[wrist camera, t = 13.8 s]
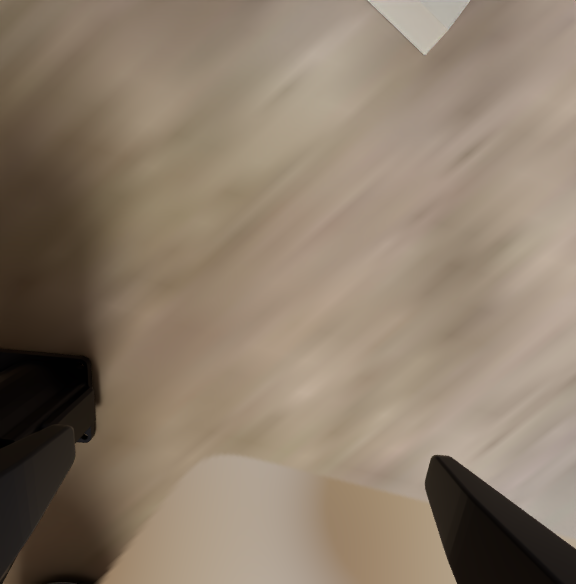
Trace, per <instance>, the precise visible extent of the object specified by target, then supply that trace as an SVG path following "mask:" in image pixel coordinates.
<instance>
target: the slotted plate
mask: <svg viewBox="0 0 576 584" xmlns="http://www.w3.org/2000/svg"><path fill="white" fill-rule="evenodd" d="M368 1H369V2H370V3H371V4H372V5H373V6H374V7H375V8H376V9H377V10H378V11H379V12H380V13H381V14H382V15H383V16H384V17H385V18H386V19H387V20H388V21H389V22H390V23H392V24H393V25H394V26H395V27H396V28H397V29H398V30H399V31H400V32H401V33H402V34H403V35H404V36H405V37H406V38H407V39H408V40H409V41H410V42H411V43H412V44H413V45H414V46H415V47H416V48H417V49H418V50H419V51H421V52H422V53H423V54H424V55H426V54H427V53H428V52H429V51H430V49H431V48H432V47H433V46H434V45H435V44H436V43H437V42H438V41H439V40H440V38H441V37H442V36H443V35H444V34H445V33H446V32H447V31H448V30H449V28H450V27H451V26H452V24H453V23H454V22H455V20H456V19H457V18H458V16H459V15H460V14H461V12H462V11H463V10H464V8H465V7H466V6H467V4H468V3H469V2H470V0H368Z"/></svg>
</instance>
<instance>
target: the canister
mask: <svg viewBox="0 0 576 584" xmlns="http://www.w3.org/2000/svg"><path fill="white" fill-rule="evenodd" d="M49 584H75V583H67V582H57V583H49Z"/></svg>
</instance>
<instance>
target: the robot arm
mask: <svg viewBox="0 0 576 584" xmlns="http://www.w3.org/2000/svg"><path fill="white" fill-rule="evenodd" d="M79 362H80V363H82V364H83V366H81V365H80V363H79ZM95 420H96V419H95V400H94V390H93V388H92V373H91V362H90V360H89V359H88V358H87V357H84V356H75V355H64V354H53V353H41V352H30V351H19V350H7V349H0V584H2V583H3V581H4V580H5V578H6V576H7V574H8V572H9V570H10V568H11V566H12V564H13V563H14V561H15V559H16V557H17V555H18V553H19V552H20V550H21V549H22V547H23V546H24V544H25V543H26V541H27V540H28V538H29V537H30V535H31V534H32V532H33V531H34V529H35V527H36V526H37V524H38V523H39V521H40V519H41V518H42V516H43V514H44V512H45V511H46V509H47V507H48V505H49V504H50V502H51V500H52V499H53V497H54V495H55V493H56V492H57V490H58V488H59V487H60V485H61V483H62V481H63V480H64V478H65V476H66V475H67V473H68V471H69V469H70V468H71V466H72V464H73V462H74V459H75V443H76V442H82V443H87V442H89V441H90V440H91V439H92V438H93V437H94V435H95V429H94V422H95ZM85 434H86V435H85ZM425 489H426V493H427V496H428V500H429V503H430V506H431V509H432V512H433V515H434V519H435V522H436V525H437V528H438V531H439V534H440V538H441V541H442V544H443V547H444V550H445V553H446V556H447V559H448V562H449V564H450V567H451V570H452V572H453V575H454V577H455V579H456V582H457V584H576V549H575V548H574V547H572V546H571V545H570V544H568V543H567V542H566V541H564V540H563V539H561V538H560V537H559V536H557V535H556V534H555V533H553V532H552V531H551V530H549V529H548V528H547V527H545V526H544V525H542V524H541V523H540V522H538V521H537V520H536V519H534V518H533V517H532V516H530V515H529V514H528V513H526V512H525V511H524V510H522V509H521V508H519V507H518V506H517V505H515V504H514V503H513V502H511V501H510V500H509V499H507V498H506V497H505V496H503V495H502V494H500V493H499V492H498V491H496V490H495V489H494V488H492V487H491V486H490V485H488V484H487V483H486V482H484V481H483V480H481V479H480V478H479V477H477V476H476V475H475V474H473V473H472V472H471V471H469V470H468V469H467V468H465V467H464V466H463V465H461V464H460V463H458V462H457V461H456V460H454V459H453V458H452V457H450V456H444V455H434V456H432V458H431V460H430V464H429V468H428V471H427V475H426V479H425Z"/></svg>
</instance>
